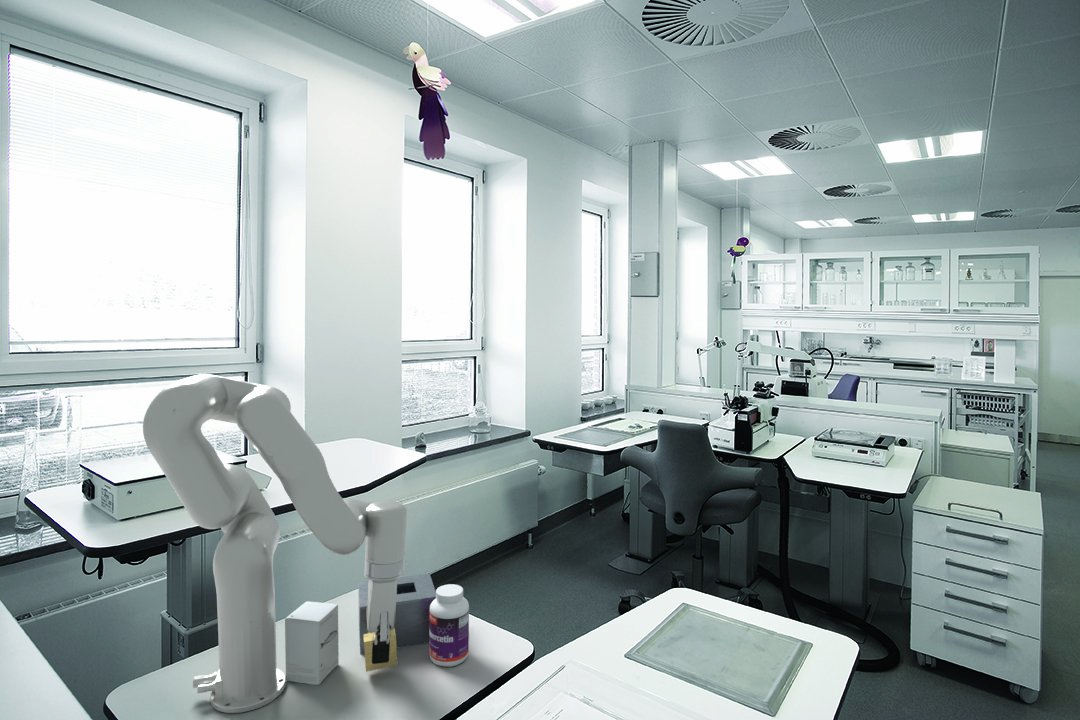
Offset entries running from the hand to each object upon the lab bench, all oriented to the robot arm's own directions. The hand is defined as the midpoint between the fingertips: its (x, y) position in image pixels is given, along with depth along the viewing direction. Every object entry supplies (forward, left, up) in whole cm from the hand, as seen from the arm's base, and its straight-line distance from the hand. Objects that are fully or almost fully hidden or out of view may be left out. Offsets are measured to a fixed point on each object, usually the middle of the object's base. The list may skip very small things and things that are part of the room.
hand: (379, 656), depth 116 cm
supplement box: (-13, +4, -3) cm, 14 cm away
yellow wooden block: (0, 0, -2) cm, 2 cm away
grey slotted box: (+4, +14, -3) cm, 15 cm away
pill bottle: (+14, +1, -3) cm, 14 cm away
